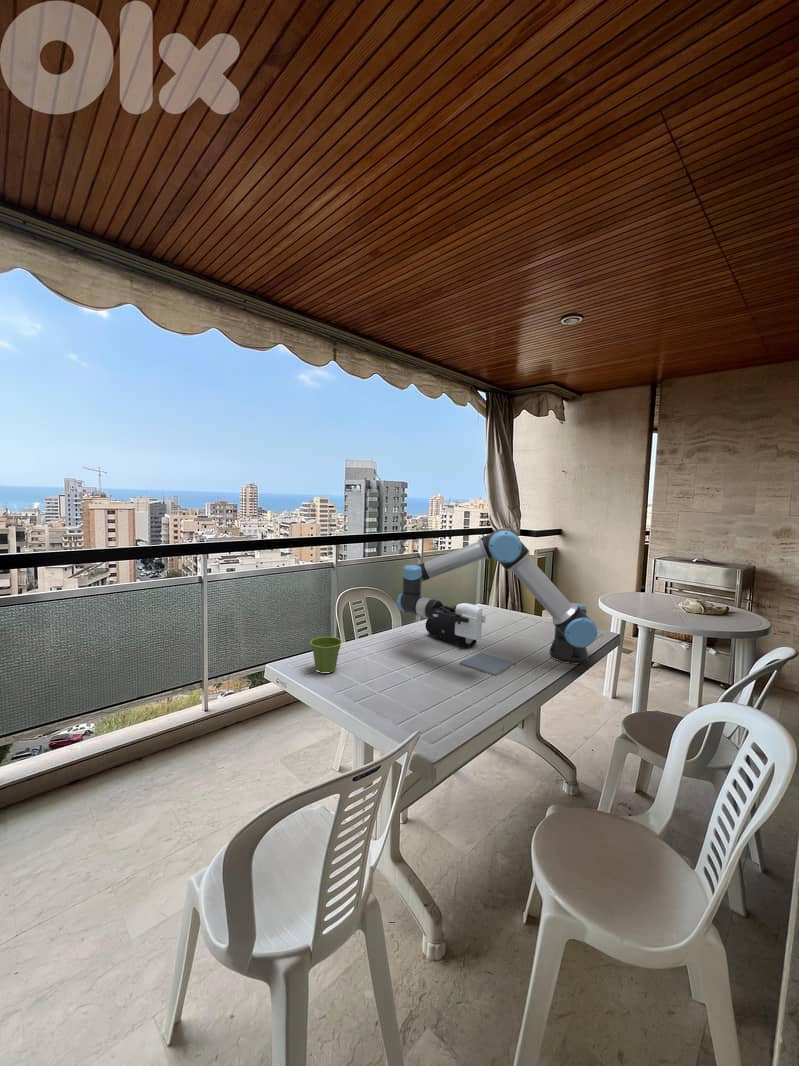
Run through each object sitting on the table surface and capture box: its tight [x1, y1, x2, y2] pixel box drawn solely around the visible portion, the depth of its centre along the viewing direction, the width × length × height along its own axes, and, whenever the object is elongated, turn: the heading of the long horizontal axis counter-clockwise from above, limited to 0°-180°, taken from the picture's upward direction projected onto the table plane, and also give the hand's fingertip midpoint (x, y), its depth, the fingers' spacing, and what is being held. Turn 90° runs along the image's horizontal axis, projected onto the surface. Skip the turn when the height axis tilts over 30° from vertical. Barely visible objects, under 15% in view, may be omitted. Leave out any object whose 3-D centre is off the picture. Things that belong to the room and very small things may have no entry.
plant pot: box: [309, 636, 343, 672], centre depth 163 cm, size 12×12×11 cm
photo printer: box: [455, 602, 483, 641], centre depth 160 cm, size 10×4×12 cm, turn 51°
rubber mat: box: [459, 652, 517, 677], centre depth 173 cm, size 16×16×1 cm
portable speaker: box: [425, 618, 478, 649], centre depth 200 cm, size 26×10×10 cm, turn 38°
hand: (481, 620), depth 156 cm, fingers closed on photo printer, 4 cm apart
